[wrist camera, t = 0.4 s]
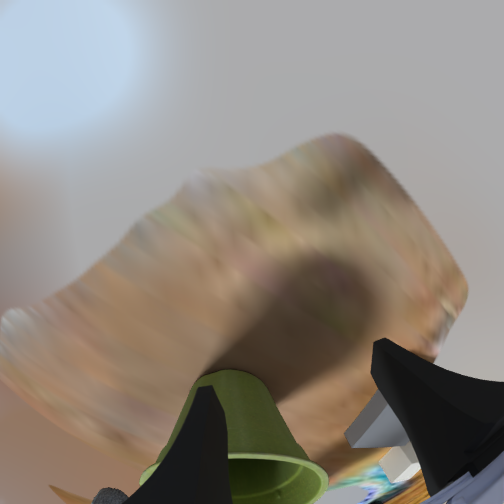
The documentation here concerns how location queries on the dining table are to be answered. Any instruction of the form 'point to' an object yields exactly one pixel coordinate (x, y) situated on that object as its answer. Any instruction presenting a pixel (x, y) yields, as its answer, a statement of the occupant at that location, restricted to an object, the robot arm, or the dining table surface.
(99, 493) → the koala plush
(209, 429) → the robot arm
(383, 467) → the cream block
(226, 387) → the plant pot
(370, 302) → the dining table surface
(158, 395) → the dining table surface
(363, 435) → the slate slab
